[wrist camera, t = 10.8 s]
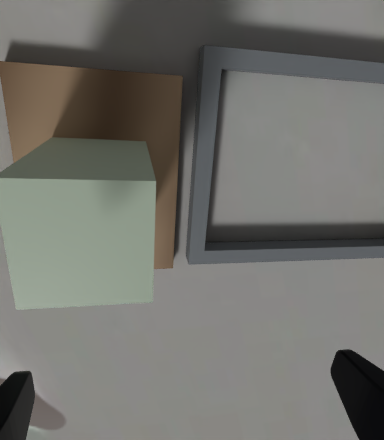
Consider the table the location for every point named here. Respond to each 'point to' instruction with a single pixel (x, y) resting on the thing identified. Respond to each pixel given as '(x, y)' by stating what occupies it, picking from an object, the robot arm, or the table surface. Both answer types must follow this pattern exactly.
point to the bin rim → (204, 150)
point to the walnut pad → (101, 122)
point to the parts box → (80, 223)
